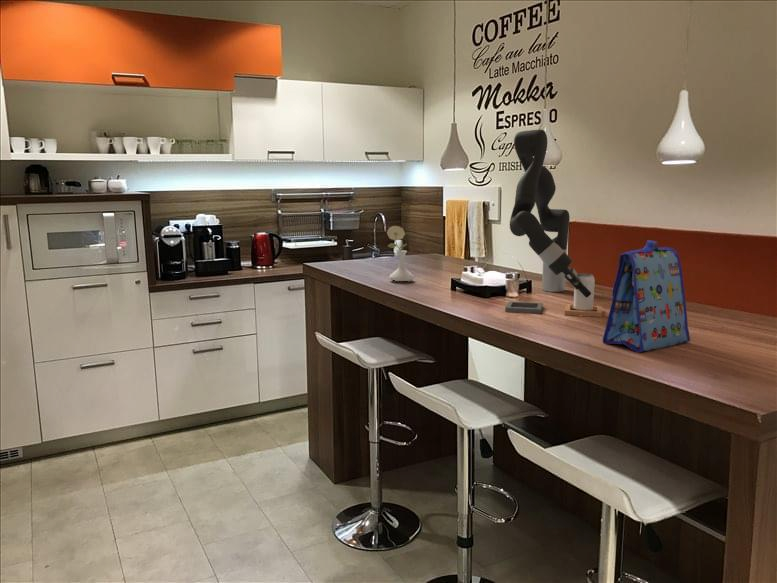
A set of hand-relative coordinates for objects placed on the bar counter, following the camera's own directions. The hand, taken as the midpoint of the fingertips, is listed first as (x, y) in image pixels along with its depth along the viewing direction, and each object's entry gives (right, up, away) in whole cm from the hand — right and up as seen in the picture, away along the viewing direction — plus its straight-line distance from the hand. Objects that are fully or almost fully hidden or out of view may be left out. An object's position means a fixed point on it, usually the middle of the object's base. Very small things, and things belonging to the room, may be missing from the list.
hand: (588, 293), depth 222 cm
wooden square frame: (-1, -6, +2) cm, 7 cm away
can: (-2, -5, +1) cm, 6 cm away
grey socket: (-21, -5, +7) cm, 23 cm away
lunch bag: (+4, -14, -40) cm, 42 cm away
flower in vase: (-63, +5, +69) cm, 94 cm away
